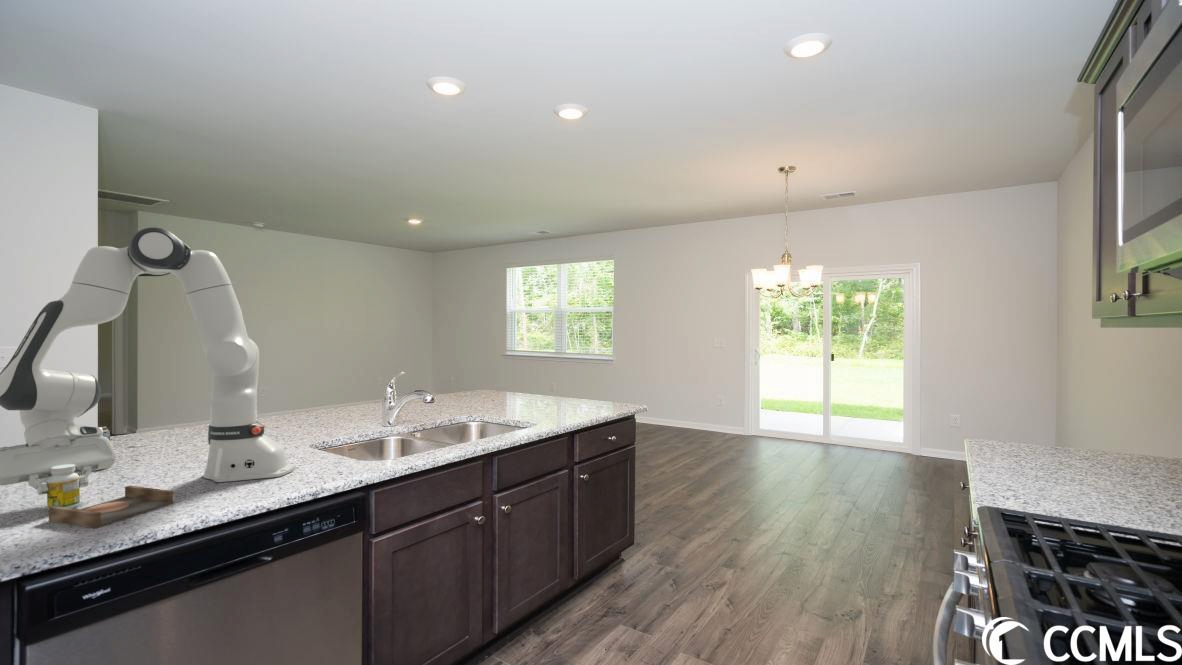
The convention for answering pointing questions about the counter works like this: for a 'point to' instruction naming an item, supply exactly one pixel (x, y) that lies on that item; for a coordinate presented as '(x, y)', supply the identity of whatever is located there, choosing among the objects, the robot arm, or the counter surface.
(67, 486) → the supplement bottle
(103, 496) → the counter surface
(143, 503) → the walled bay
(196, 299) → the robot arm
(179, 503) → the counter surface
